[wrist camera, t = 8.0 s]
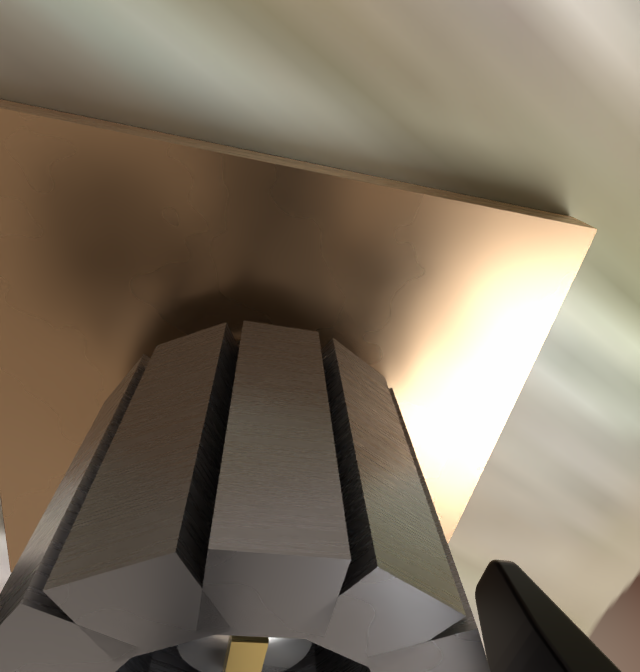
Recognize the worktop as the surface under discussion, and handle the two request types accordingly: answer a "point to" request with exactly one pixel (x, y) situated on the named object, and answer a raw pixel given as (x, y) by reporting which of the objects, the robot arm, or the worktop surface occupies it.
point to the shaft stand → (254, 297)
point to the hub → (242, 521)
